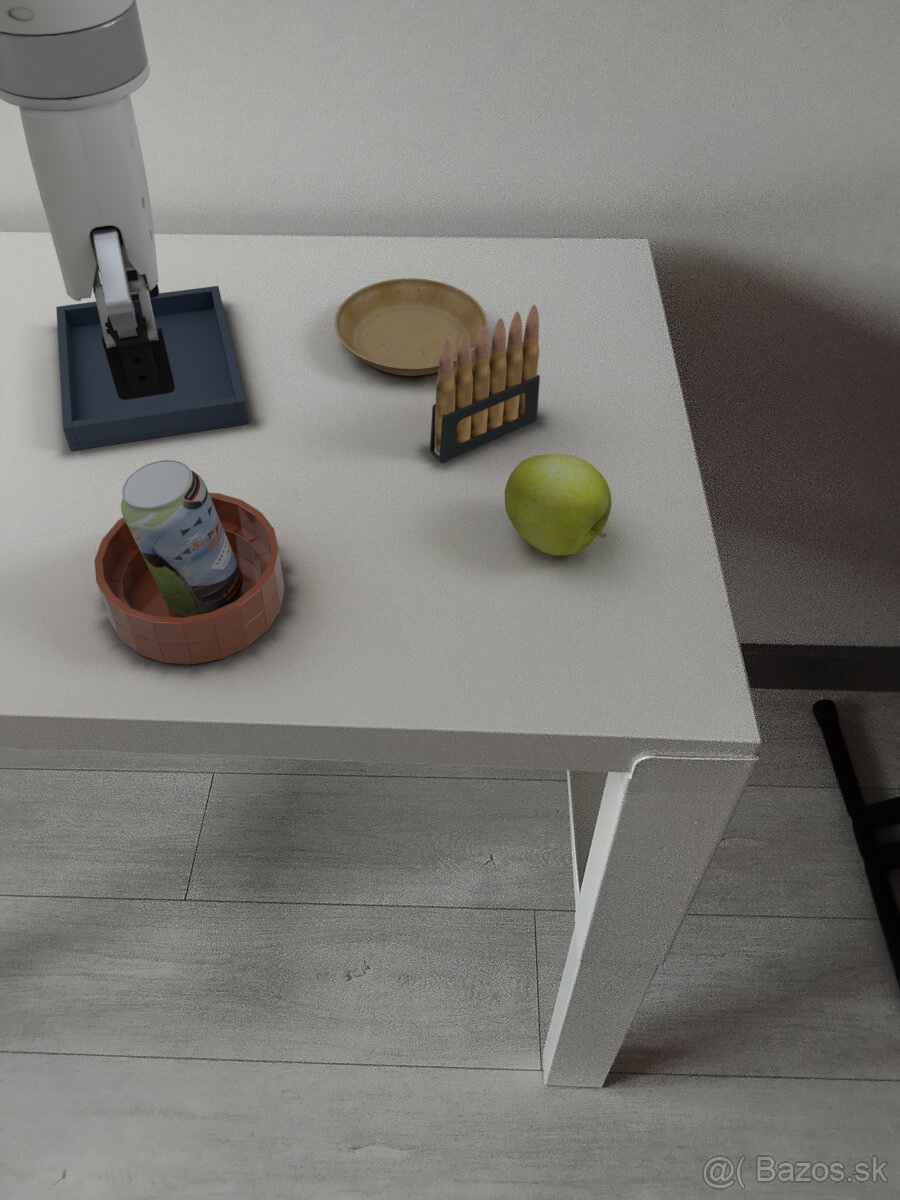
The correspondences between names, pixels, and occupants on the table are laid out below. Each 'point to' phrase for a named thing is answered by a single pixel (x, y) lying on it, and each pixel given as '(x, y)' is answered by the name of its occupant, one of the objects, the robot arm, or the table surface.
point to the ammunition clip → (486, 388)
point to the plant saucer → (407, 324)
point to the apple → (558, 503)
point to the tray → (196, 364)
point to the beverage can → (181, 537)
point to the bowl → (199, 636)
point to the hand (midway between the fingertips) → (140, 343)
